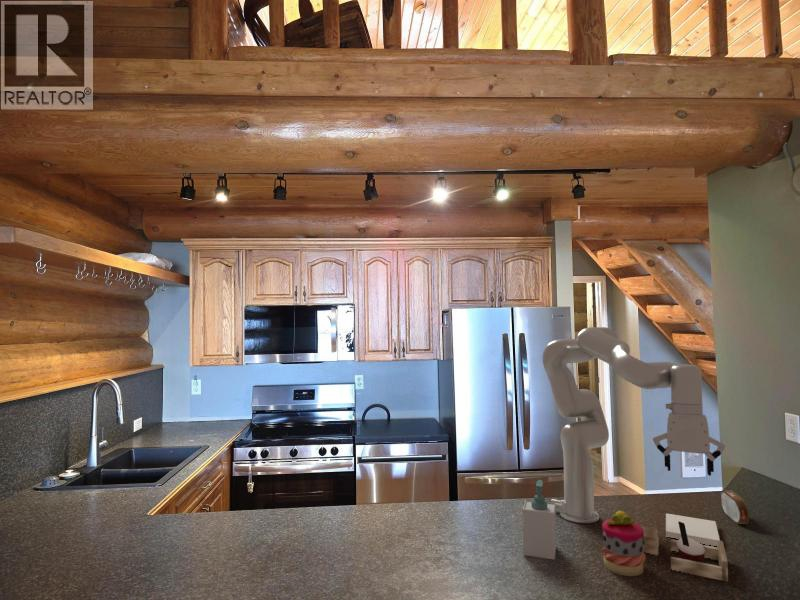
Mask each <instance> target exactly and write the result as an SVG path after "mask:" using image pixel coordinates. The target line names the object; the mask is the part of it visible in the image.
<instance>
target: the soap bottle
mask: <svg viewBox="0 0 800 600" xmlns="http://www.w3.org/2000/svg"><path fill="white" fill-rule="evenodd" d="M543 482H544V481H543V480H541V479H538V480H537V481H536V482H535V483H536V484H535V492H536V493H537V494H535V495H534V497H533V499H525V500H524V504H523V508H522V551H523V552H522V555H523V556H527V557H528V556H529V557H532V558H533V557H534V558H540V559H547V560H554V561H555V560H556V552H557V551H556V550H557V533H556V532H557V526H556V525H557V520H556V519H557V514H556V512H557V511H556V509H557V507H556V503H554V502H551V501H547V500H546V498H545V496H544V495H543V494H542V493H543V488H544V485H543V484H544V483H543Z"/></svg>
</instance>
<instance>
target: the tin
mask: <svg viewBox="0 0 800 600" xmlns="http://www.w3.org/2000/svg"><path fill="white" fill-rule="evenodd" d="M720 500H721V507H722V510H723V513H724V514H725V515H726V516H727V517H729V519H731V520H732V521H733V522H734V523H735V524H737V525H745V526H747V525H748V524H749V519H750V517H749V516H750V515H749V511H748V506H747V504H746V502H745V500H744V499H743V498H742V497H741V496H740V495H738V494H737V493H735V491H733V490H732V489H730V490H725V489H724V490H721V492H720Z"/></svg>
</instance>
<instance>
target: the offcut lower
mask: <svg viewBox="0 0 800 600" xmlns="http://www.w3.org/2000/svg"><path fill="white" fill-rule="evenodd" d="M659 541H660V538H659V536H658V540H657V547H651V546H646V545H643V551H644V552H647V553H651V554H650V555H652V554H655V555H654V556H657V555H658V556H659V549H658V548H659V546H660V542H659ZM647 553H646V554H647Z"/></svg>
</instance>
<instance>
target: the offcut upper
mask: <svg viewBox="0 0 800 600" xmlns="http://www.w3.org/2000/svg"><path fill="white" fill-rule="evenodd" d="M640 526H641V527H642V528H643V531H644V539H643V540H644V544H643V545H646V546H651V547H657V540H658V537H659V536H658V533H659V532H658V530H659V529H657V528H651V527H648V526H647V527H646V526H642V525H640Z"/></svg>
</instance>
